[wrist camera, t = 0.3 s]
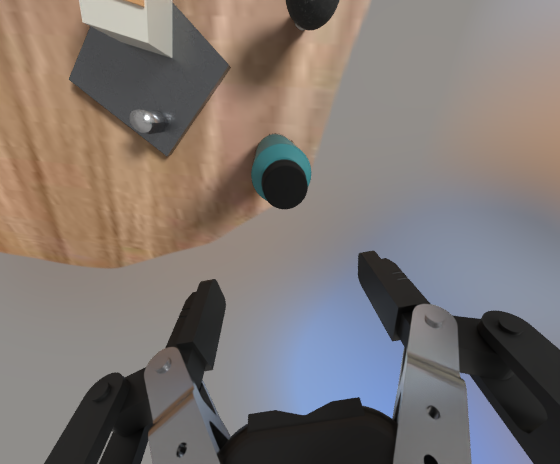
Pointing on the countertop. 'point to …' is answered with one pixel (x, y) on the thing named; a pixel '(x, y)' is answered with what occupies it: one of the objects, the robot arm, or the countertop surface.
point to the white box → (132, 22)
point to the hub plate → (151, 81)
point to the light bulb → (311, 12)
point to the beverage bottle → (280, 172)
